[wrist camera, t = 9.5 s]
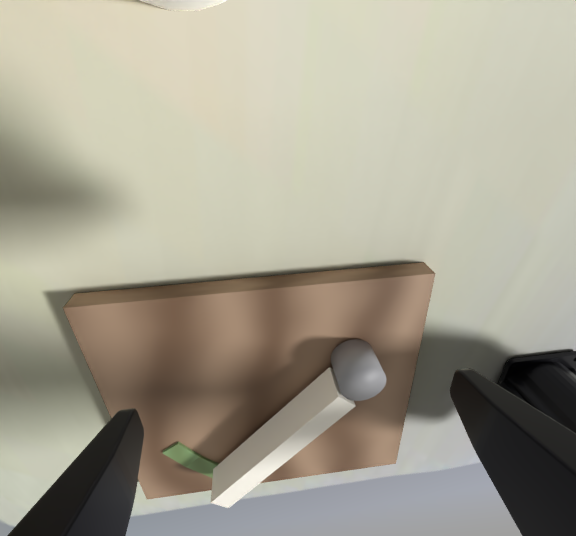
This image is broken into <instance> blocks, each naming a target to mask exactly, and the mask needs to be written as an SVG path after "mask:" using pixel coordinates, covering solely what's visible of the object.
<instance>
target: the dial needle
mask: <svg viewBox="0 0 576 536" xmlns="http://www.w3.org/2000/svg"><path fill="white" fill-rule="evenodd" d="M331 364H332V367H333V369H332V368H330V367H329V368H328V369H327V370H326V371H325V372H323V373H322V374H321V375H320V376H319V377H318V378H317V379H315V380H314V381H313V382H312V383H311V384H310V385H309V386H307V387H306V388H305V389H304V390H303V391H302V392H301V393H299V394H298V395H297V396H296V397H295V398H294V399H293V400H291V401H290V402H289V403H288V404H287V405H286V406H285V407H283V408H282V409H281V410H280V411H279V412H278V413H277V414H275V415H274V416H273V417H272V418H271V419H270V420H269V421H268V422H266V423H265V424H264V425H263V426H262V427H261V428H260V429H258V430H257V431H256V432H255V433H254V434H253V435H252V436H250V437H249V438H248V439H247V440H246V441H245V442H244V443H242V444H241V445H240V446H239V447H238V448H237V449H236V450H234V451H233V452H232V453H231V454H230V455H229V456H228V457H226V458H225V459H224V460H223V461H222V462H221V463H220V464H218V465H217V466H216V467H215V468H214V469H213V480H212V494H211V503H213V504H216V505H220V506H223V507H226V508H229V507H230V506H232V505H233V504H234V503H236V502H237V501H238V500H239V499H241V498H242V497H243V496H244V495H246V494H247V493H248V492H249V491H250V490H252V489H253V488H254V487H255V486H257V485H258V484H259V483H260V482H262V481H263V480H264V479H265V478H267V477H268V476H269V475H270V474H272V473H273V472H274V471H275V470H277V469H278V468H279V467H280V466H282V465H283V464H284V463H285V462H287V461H288V460H289V459H290V458H292V457H293V456H294V455H295V454H297V453H298V452H299V451H300V450H302V449H303V448H304V447H305V446H307V445H308V444H309V443H310V442H312V441H313V440H314V439H315V438H317V437H318V436H319V435H320V434H322V433H323V432H324V431H325V430H327V429H328V428H329V427H330V426H332V425H333V424H334V423H335V422H337V421H338V420H339V419H340V418H342V417H343V416H344V415H345V414H347V413H348V412H349V411H350V410H352V409H353V408H354V407H355V403H354V401H362V400H367V399H370V398H372V397H374V396H376V395H377V394H379V393H380V392H381V391H382V390H383V388H384V387H385V384H386V375H385V373H384V371H383V369H382V367H381V365H380V363H379V361H378V359H377V357H376V355H375V353H374V351H373V349H372V347H371V345H370V344H369V343H368V342H366V341H364V340H360V339H352V340H348V341H345V342H343V343H341V344H339V345H338V346H337V347H336V348H335V349H334V350H333V352H332V354H331Z"/></svg>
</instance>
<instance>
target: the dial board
mask: <svg viewBox="0 0 576 536" xmlns="http://www.w3.org/2000/svg"><path fill="white" fill-rule="evenodd" d="M434 277H435V273H434V272H433V271H432V270H431V269H430V268H429V267H428V266H427V265H426V264H425V263H424V262H422V263H411V264H399V265H388V266H377V267H366V268H355V269H343V270H332V271H321V272H310V273H299V274H288V275H276V276H265V277H254V278H243V279H232V280H220V281H209V282H198V283H187V284H176V285H164V286H153V287H142V288H131V289H120V290H109V291H97V292H86V293H75V294H74V295H73V296H72V297H71V299H70V300H69V301H68V302H67V304H66V305H65V306H64V307H63V309H64V312H65V314H66V316H67V319H68V321H69V323H70V325H71V328H72V330H73V332H74V334H75V337H76V339H77V341H78V344H79V346H80V348H81V350H82V353H83V355H84V357H85V359H86V362H87V364H88V366H89V369H90V371H91V373H92V375H93V378H94V380H95V382H96V385H97V387H98V389H99V391H100V394H101V396H102V398H103V400H104V403H105V405H106V407H107V410H108V412H109V414H110V416H111V419H112V417H113V416H114V415H115V414H116V413H117V412H118V411H120V410H123V409H131V408H135V409H136V410H137V412H138V414H139V417H140V419H141V422H142V425H143V428H144V439H143V446H142V453H141V460H140V466H139V473H138V480H139V482H140V485H141V487H142V489H143V491H144V494H145V496H146V498H147V499H153V498H160V497H167V496H174V495H181V494H188V493H195V492H201V491H208V490H212V480H213V469H214V468H215V467H216V466H217V465H218V464H220V463H221V462H222V461H223V460H224V459H225V458H226V457H228V456H229V455H230V454H231V453H232V452H233V451H234V450H236V449H237V448H238V447H239V446H240V445H241V444H242V443H244V442H245V441H246V440H247V439H248V438H249V437H250V436H252V435H253V434H254V433H255V432H256V431H257V430H258V429H260V428H261V427H262V426H263V425H264V424H265V423H266V422H268V421H269V420H270V419H271V418H272V417H273V416H274V415H275V414H277V413H278V412H279V411H280V410H281V409H282V408H283V407H285V406H286V405H287V404H288V403H289V402H290V401H291V400H293V399H294V398H295V397H296V396H297V395H298V394H299V393H301V392H302V391H303V390H304V389H305V388H306V387H307V386H309V385H310V384H311V383H312V382H313V381H314V380H315V379H317V378H318V377H319V376H320V375H321V374H322V373H323V372H325V371H326V370H327V369H328V368H329V367H330V368H332V369H333V367H332V364H331V354H332V352H333V350H334V349H335V348H336V347H337V346H338V345H339V344H341V343H343V342H345V341H348V340H352V339H360V340H364V341H366V342H368V343H369V344H370V345H371V347H372V349H373V351H374V353H375V355H376V357H377V359H378V361H379V363H380V365H381V367H382V369H383V371H384V373H385V375H386V384H385V387H384V388H383V390H382V391H381V392H380V393H379V394H377V395H376V396H374V397H372V398H370V399H367V400H362V401H354V403H355V407H354V408H353V409H352V410H350V411H349V412H348V413H347V414H345V415H344V416H343V417H342V418H340V419H339V420H338V421H337V422H335V423H334V424H333V425H332V426H330V427H329V428H328V429H327V430H325V431H324V432H323V433H322V434H320V435H319V436H318V437H317V438H315V439H314V440H313V441H312V442H310V443H309V444H308V445H307V446H305V447H304V448H303V449H302V450H300V451H299V452H298V453H297V454H295V455H294V456H293V457H292V458H290V459H289V460H288V461H287V462H285V463H284V464H283V465H282V466H280V467H279V468H278V469H277V470H275V471H274V472H273V473H272V474H270V475H269V476H268V477H267V478H265V479H264V480H263V481H262V482H260V483H264V482H271V481H278V480H285V479H292V478H298V477H305V476H312V475H319V474H326V473H333V472H340V471H347V470H354V469H361V468H368V467H375V466H382V465H389V464H395V463H396V460H397V455H398V450H399V445H400V440H401V436H402V431H403V426H404V421H405V416H406V412H407V407H408V402H409V397H410V392H411V388H412V383H413V378H414V373H415V369H416V364H417V359H418V354H419V349H420V345H421V340H422V335H423V330H424V325H425V321H426V316H427V311H428V306H429V301H430V297H431V292H432V287H433V282H434Z"/></svg>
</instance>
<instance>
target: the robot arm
mask: <svg viewBox="0 0 576 536" xmlns="http://www.w3.org/2000/svg"><path fill="white" fill-rule="evenodd" d="M450 394H451V398H452V400H453V402H454V405H455V407H456V409H457V412H458V414H459V416H460V418H461V421H462V423H463V425H464V427H465V430H466V432H467V434H468V437H469V439H470V441H471V443H472V445H473V447H474V449H475V451H476V453H477V455H478V457H479V459H480V461H481V462H482V464H483V466H484V468H485V469H486V471H487V473H488V475H489V477H490V478H491V480H492V482H493V484H494V486H495V487H496V489H497V491H498V493H499V495H500V496H501V498H502V500H503V502H504V503H505V505H506V507H507V509H508V511H509V512H510V514H511V516H512V518H513V520H514V521H515V523H516V525H517V527H518V528H519V530H520V532H521V534H522V536H576V351H572V352H564V353H555V354H547V355H538V356H530V357H522V358H513V359H510V360H509V361H507V363H506V365H505V367H504V370H503V373H502V375H501V378H500V380H499V383H498V385H497V384H495V383H494V382H492V381H491V380H489V379H487V378H486V377H484V376H483V375H481V374H479V373H478V372H476V371H475V370H473V369H470V368H467V369H459V370H457V371H456V372H455V374H454V377H453V381H452V384H451V388H450ZM143 439H144V428H143V425H142V422H141V419H140V417H139V414H138V412H137V410H136V409H135V408H131V409H123V410H120V411H118V412H117V413H116V414H115V415H114V416H113V417H112V419H111V420H110V421H109V422H108V423H107V424H106V425H105V426H104V428H103V429H102V430H101V431H100V432H99V433H98V434H97V435H96V437H95V438H94V439H93V440H92V441H91V442H90V443H89V444H88V446H87V447H86V448H85V449H84V450H83V451H82V452H81V453H80V455H79V456H78V457H77V458H76V459H75V460H74V461H73V462H72V464H71V465H70V466H69V467H68V468H67V469H66V470H65V471H64V473H63V474H62V475H61V476H60V477H59V478H58V479H57V480H56V482H55V483H54V484H53V485H52V486H51V487H50V488H49V489H48V491H47V492H46V493H45V494H44V495H43V496H42V497H41V498H40V500H39V501H38V502H37V503H36V504H35V505H34V506H33V507H32V509H31V510H30V511H29V512H28V513H27V514H26V515H25V516H24V518H23V519H22V520H21V521H20V522H19V523H18V524H17V525H16V527H15V528H14V529H13V530H12V531H11V532H10V533H9V534H8V536H125V535H126V531H127V527H128V523H129V519H130V515H131V511H132V507H133V503H134V499H135V493H136V487H137V480H138V473H139V466H140V460H141V453H142V446H143Z"/></svg>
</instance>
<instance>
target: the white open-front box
mask: <svg viewBox="0 0 576 536" xmlns="http://www.w3.org/2000/svg"><path fill="white" fill-rule="evenodd" d="M140 1H142V2H145V3H148V4H151V5H154V6H157V7H160V8H163V9H166V10H169V11H199V10H203V9H206V8H209V7H212V6H215V5H218V4H221V3H224V2H225V1H227V0H140Z"/></svg>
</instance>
